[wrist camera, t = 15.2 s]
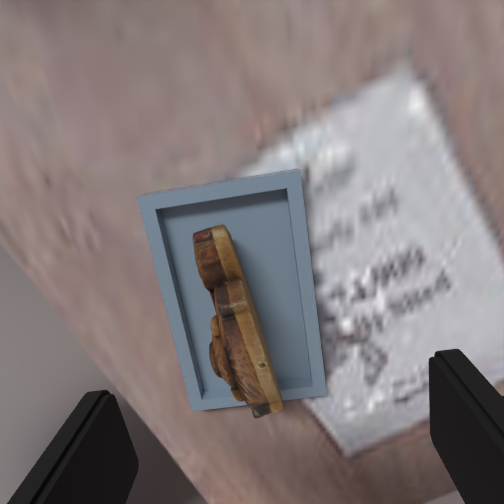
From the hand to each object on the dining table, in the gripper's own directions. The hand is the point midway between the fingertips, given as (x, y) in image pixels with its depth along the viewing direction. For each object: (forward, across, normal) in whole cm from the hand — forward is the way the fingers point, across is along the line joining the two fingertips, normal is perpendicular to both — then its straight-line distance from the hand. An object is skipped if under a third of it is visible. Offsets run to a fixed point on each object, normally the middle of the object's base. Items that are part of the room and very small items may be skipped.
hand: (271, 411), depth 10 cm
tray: (+21, +4, +6) cm, 22 cm away
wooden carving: (+21, +4, +6) cm, 22 cm away
